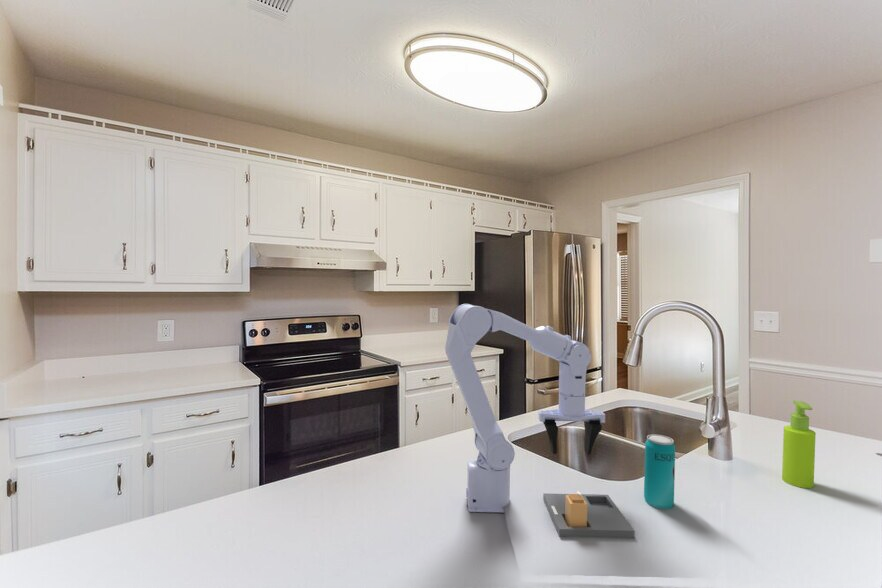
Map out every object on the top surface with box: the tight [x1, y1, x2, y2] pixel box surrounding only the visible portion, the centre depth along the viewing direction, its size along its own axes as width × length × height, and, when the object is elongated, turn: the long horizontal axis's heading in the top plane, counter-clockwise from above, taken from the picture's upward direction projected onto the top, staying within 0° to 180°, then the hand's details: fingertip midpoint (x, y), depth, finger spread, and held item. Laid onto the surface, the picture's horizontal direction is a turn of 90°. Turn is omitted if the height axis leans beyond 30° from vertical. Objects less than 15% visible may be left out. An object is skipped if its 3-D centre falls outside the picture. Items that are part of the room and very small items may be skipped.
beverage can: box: [643, 433, 676, 510], centre depth 89 cm, size 6×6×15 cm
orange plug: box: [565, 493, 587, 527], centre depth 80 cm, size 3×3×6 cm
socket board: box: [542, 490, 636, 539], centre depth 84 cm, size 14×14×2 cm
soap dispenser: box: [781, 400, 817, 489], centre depth 100 cm, size 6×7×20 cm
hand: (570, 452), depth 93 cm, fingers open, 7 cm apart
